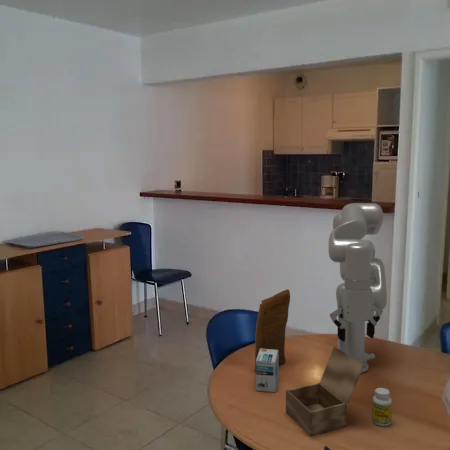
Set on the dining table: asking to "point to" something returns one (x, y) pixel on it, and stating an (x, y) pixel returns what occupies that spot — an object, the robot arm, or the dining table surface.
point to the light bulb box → (267, 370)
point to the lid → (341, 374)
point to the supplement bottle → (382, 407)
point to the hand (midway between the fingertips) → (356, 338)
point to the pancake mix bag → (272, 324)
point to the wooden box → (315, 408)
